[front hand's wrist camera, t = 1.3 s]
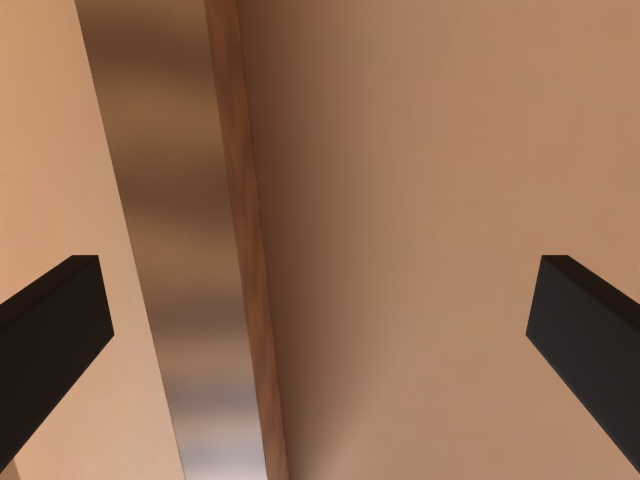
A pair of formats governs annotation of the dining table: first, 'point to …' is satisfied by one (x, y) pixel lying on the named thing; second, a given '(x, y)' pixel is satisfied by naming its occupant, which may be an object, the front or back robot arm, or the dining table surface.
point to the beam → (193, 222)
